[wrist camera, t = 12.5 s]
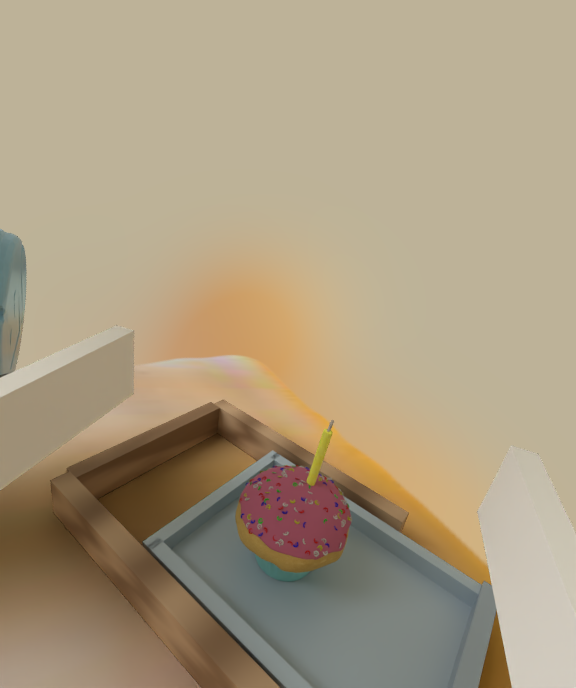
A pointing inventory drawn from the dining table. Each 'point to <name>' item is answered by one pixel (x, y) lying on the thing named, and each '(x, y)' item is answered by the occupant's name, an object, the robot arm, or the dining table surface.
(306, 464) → the dock
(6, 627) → the dining table surface
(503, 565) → the robot arm
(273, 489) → the cupcake
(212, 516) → the tray
